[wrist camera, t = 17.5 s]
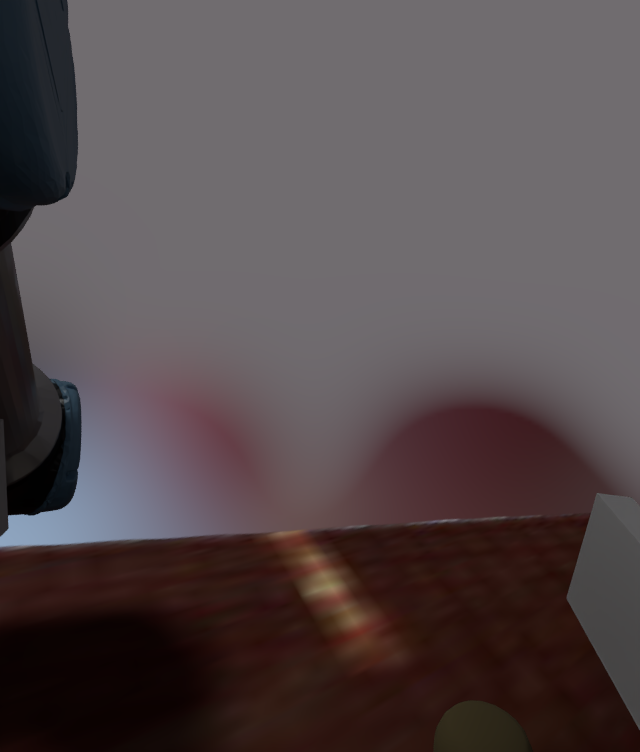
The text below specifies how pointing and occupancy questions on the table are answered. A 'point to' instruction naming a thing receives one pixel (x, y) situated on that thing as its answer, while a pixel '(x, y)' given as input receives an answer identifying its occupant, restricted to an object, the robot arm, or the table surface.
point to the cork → (479, 730)
